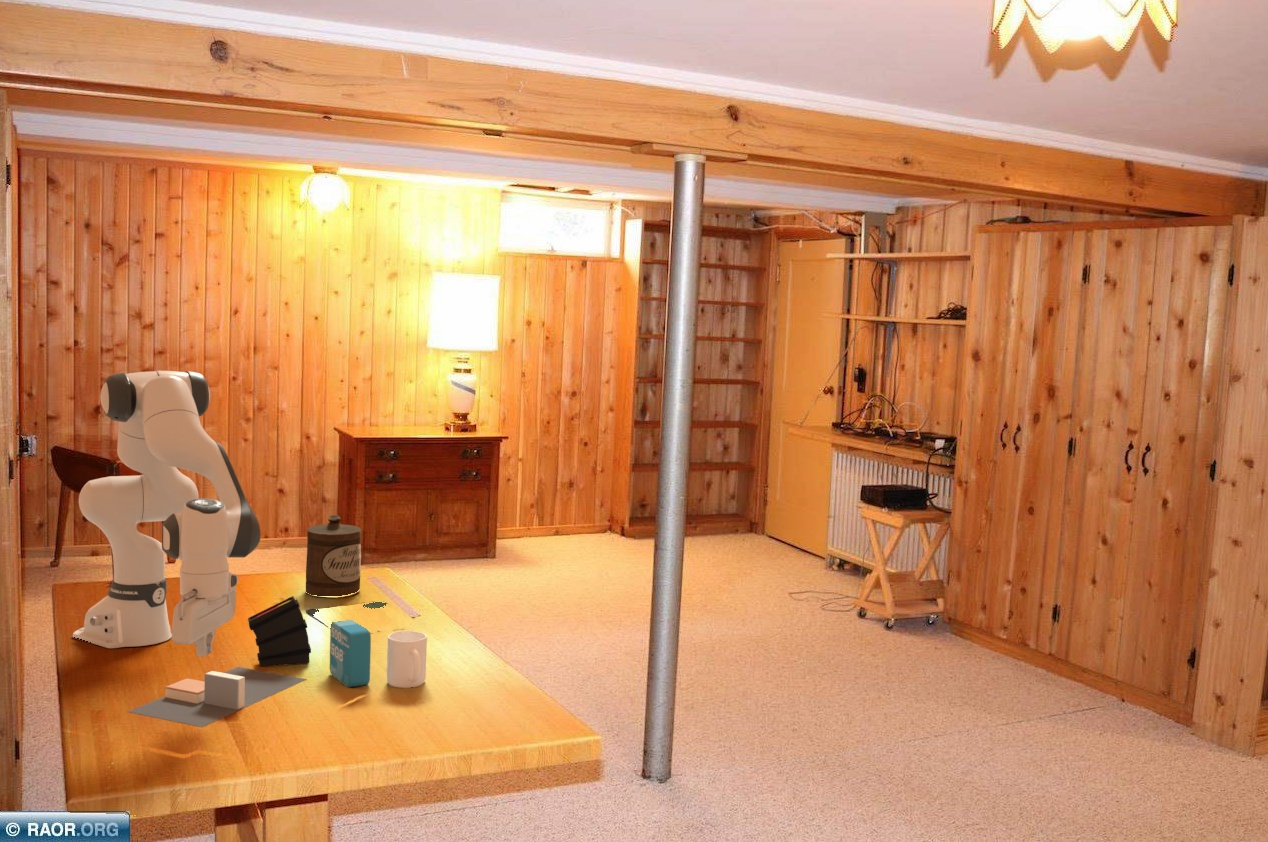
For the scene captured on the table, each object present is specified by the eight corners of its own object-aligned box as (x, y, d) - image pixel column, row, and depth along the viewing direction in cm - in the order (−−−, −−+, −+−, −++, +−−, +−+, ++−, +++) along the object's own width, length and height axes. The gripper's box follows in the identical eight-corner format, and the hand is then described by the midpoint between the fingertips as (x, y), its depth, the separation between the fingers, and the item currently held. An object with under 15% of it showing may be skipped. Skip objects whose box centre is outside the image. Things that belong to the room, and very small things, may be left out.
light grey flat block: (204, 703, 229) (204, 673, 228) (212, 699, 231) (212, 670, 230) (237, 709, 226) (237, 680, 225) (244, 706, 228) (244, 676, 227)
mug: (435, 691, 243) (437, 644, 243) (397, 696, 240) (398, 648, 239) (419, 674, 254) (420, 629, 253) (382, 678, 250) (383, 632, 249)
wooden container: (332, 601, 313) (334, 522, 311) (294, 592, 320) (295, 515, 318) (371, 591, 326) (372, 515, 324) (333, 583, 333) (334, 508, 331)
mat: (127, 714, 222) (127, 711, 222) (238, 669, 252) (238, 666, 252) (201, 730, 216) (201, 727, 216) (306, 681, 246) (306, 679, 246)
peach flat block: (165, 686, 231) (187, 678, 236) (165, 697, 231) (187, 688, 237) (197, 692, 228) (218, 684, 234) (197, 703, 228) (218, 694, 234)
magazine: (324, 656, 259) (296, 598, 255) (269, 684, 255) (239, 626, 252) (322, 651, 262) (294, 594, 259) (268, 679, 259) (238, 622, 255)
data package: (329, 673, 252) (330, 620, 251) (348, 670, 255) (349, 618, 254) (350, 689, 242) (351, 634, 241) (370, 686, 245) (371, 631, 244)
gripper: (196, 597, 210) (195, 671, 211) (241, 574, 230) (241, 641, 231) (162, 596, 210) (162, 669, 211) (211, 572, 230) (210, 639, 231)
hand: (204, 654), depth 221 cm, fingers closed
